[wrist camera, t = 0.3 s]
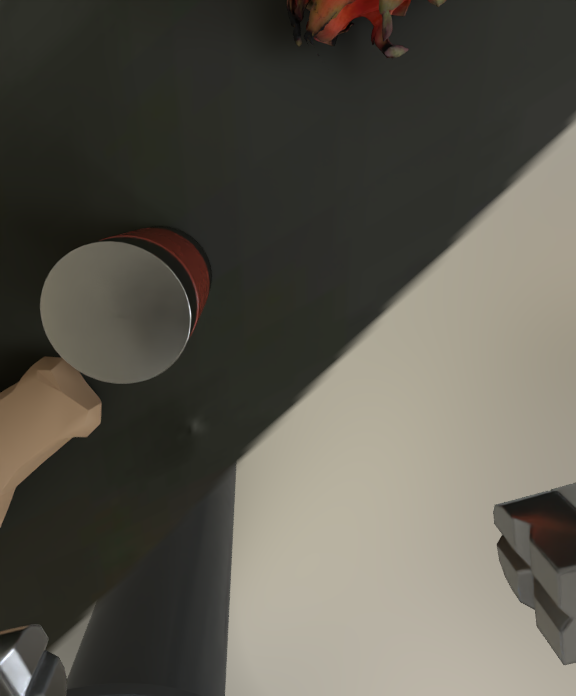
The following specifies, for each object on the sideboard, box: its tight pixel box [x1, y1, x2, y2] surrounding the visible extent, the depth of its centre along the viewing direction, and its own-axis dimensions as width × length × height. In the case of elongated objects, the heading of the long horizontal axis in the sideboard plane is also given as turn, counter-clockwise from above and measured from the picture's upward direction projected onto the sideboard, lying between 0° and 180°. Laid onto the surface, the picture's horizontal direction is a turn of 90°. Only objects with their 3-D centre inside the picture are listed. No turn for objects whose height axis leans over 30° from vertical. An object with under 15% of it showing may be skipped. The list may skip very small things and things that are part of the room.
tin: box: [40, 226, 212, 384], centre depth 24 cm, size 6×6×11 cm
